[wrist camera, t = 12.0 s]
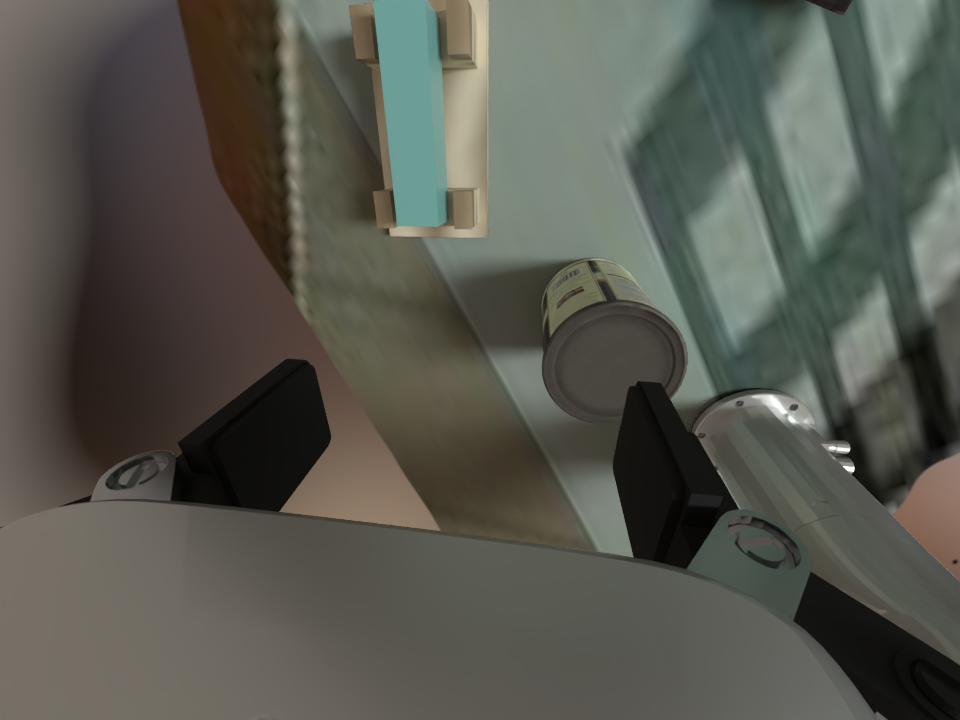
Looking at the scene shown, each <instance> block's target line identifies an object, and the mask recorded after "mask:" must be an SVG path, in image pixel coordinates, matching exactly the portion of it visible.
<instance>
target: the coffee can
mask: <svg viewBox="0 0 960 720" xmlns="http://www.w3.org/2000/svg"><path fill="white" fill-rule="evenodd" d="M541 312H542V322H543V351H544V354H543V360H542V376H543V380H544V384H545V387H546V389H547V391H548V393H549V395H550V397H551V398H552V399H553V401H554V402H555V403H556V404H557V405H558V406H559V407H560V408H561V409H562V410H563V411H565V412H566V413H568V414H569V415H571V416H573V417H575V418H577V419H580V420H582V421H586V422H589V423H593V424H600V425H617V424H621V421H622V416H623V411H624V407H625V402H626V397H627V392H628V388H629V387H630V386H636V383H637V382H638V381H644V382H659V383H661V384H662V386H663V387H664V389H665V391H666V393H667V395H668V397H669V398H670V399H671V398H672V397H673V396H674V395H675V393H676V392H677V391H678V389H679V387H680V386H681V384H682V381H683V379H684V377H685V374H686V370H687V364H688V353H687V348H686V343H685V341H684V338H683V336H682V334H681V332H680V331H679V329H678V328H677V327H676V325H675V324H674V323H673V322H672V321H671V320H670V319H669V318H668V317H667V316H665V315H664V314H663V313H662V312H661V311H660V310H659V309H658V307H657V306H656V305H655V304H654V303H653V301H652V300H651V299H650V298H649V297H648V295H647V294H646V293H645V292H644V291H643V290H642V288H641V287H640V286H639V285H638V284H637V282H636V281H635V279H634V278H633V276H632V275H631V274H630V273H629V272H628V271H627V270H626V269H625V268H624V267H622V266H621V265H619V264H617V263H616V262H613V261H610V260H607V259H600V258H589V259H583V260H579V261H575V262H574V263H572V264H570V265H568V266H566V267H565V268H563V269H562V270H560V271H559V272H558V273H557V274H556V275H555V276H554V277H553V278H552V279H551V281H550V282H549V284H548V285H547V287H546V289H545V292H544V294H543V298H542V304H541Z"/></svg>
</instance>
